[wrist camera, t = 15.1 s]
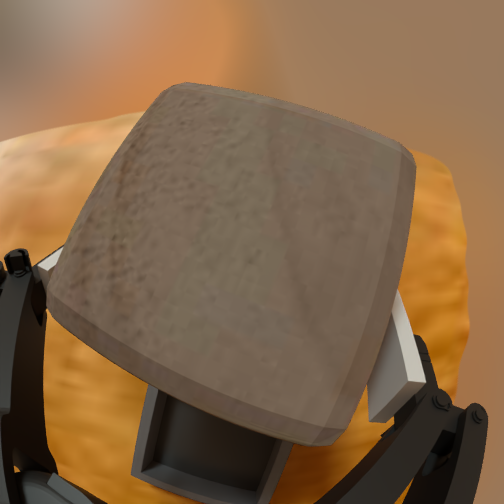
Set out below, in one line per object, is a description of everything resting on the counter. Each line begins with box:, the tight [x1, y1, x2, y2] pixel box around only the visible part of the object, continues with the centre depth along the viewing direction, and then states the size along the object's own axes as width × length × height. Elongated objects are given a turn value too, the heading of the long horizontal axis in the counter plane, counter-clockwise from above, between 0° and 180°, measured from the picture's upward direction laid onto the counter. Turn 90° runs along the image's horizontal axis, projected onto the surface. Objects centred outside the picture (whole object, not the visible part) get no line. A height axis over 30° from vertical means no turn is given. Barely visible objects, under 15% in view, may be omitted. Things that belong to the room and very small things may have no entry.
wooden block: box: [46, 82, 416, 446], centre depth 16 cm, size 10×10×20 cm
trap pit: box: [131, 384, 294, 504], centre depth 21 cm, size 14×14×4 cm
